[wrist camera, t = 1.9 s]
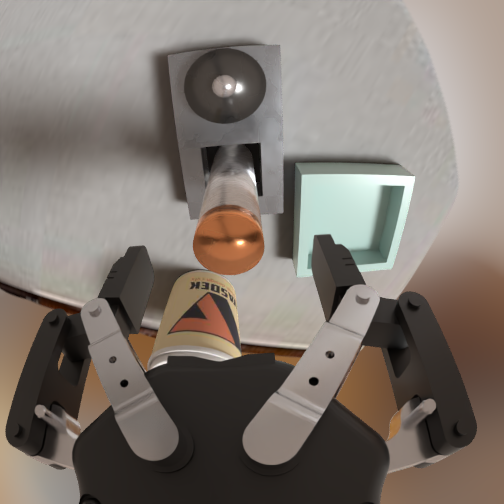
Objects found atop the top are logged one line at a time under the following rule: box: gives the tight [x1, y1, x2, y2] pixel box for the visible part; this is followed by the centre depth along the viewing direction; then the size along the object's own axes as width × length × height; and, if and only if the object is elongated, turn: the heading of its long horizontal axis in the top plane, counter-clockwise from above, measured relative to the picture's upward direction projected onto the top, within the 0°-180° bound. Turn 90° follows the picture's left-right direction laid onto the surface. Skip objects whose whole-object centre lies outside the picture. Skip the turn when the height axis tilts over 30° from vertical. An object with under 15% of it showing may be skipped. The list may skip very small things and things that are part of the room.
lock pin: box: [193, 144, 264, 275], centre depth 19 cm, size 3×3×13 cm
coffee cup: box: [148, 270, 242, 371], centre depth 29 cm, size 9×9×12 cm
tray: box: [292, 162, 415, 277], centre depth 26 cm, size 11×11×3 cm
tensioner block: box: [168, 45, 283, 219], centre depth 20 cm, size 14×8×5 cm, turn 3°
